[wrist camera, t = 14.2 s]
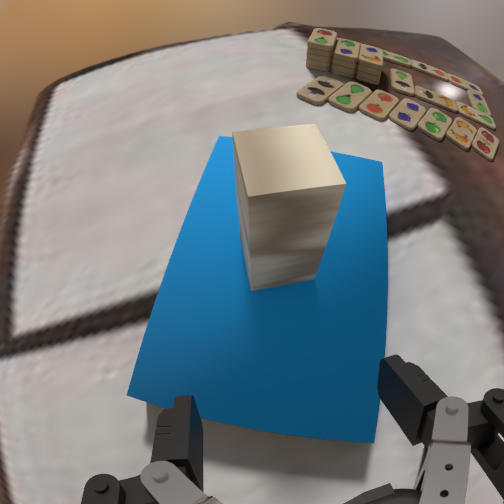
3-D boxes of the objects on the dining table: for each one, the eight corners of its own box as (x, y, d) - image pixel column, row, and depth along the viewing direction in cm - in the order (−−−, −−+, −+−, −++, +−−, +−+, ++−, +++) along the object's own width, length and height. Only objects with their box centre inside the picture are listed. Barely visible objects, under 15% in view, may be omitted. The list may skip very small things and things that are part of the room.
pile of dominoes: (288, 103, 41) (290, 68, 36) (319, 39, 54) (321, 16, 49) (511, 177, 35) (528, 151, 30) (477, 90, 48) (486, 70, 43)
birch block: (298, 226, 25) (315, 123, 17) (314, 279, 23) (346, 183, 14) (239, 236, 25) (232, 132, 16) (251, 290, 23) (248, 196, 14)
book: (125, 398, 19) (215, 133, 31) (146, 403, 22) (219, 163, 34) (384, 443, 17) (387, 158, 29) (364, 441, 21) (376, 187, 33)
